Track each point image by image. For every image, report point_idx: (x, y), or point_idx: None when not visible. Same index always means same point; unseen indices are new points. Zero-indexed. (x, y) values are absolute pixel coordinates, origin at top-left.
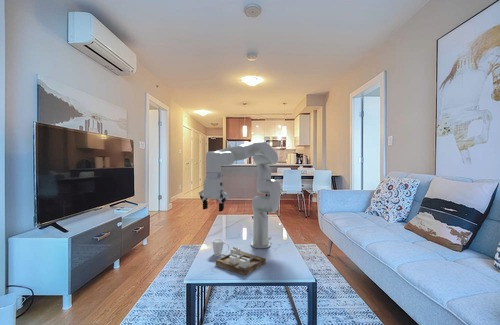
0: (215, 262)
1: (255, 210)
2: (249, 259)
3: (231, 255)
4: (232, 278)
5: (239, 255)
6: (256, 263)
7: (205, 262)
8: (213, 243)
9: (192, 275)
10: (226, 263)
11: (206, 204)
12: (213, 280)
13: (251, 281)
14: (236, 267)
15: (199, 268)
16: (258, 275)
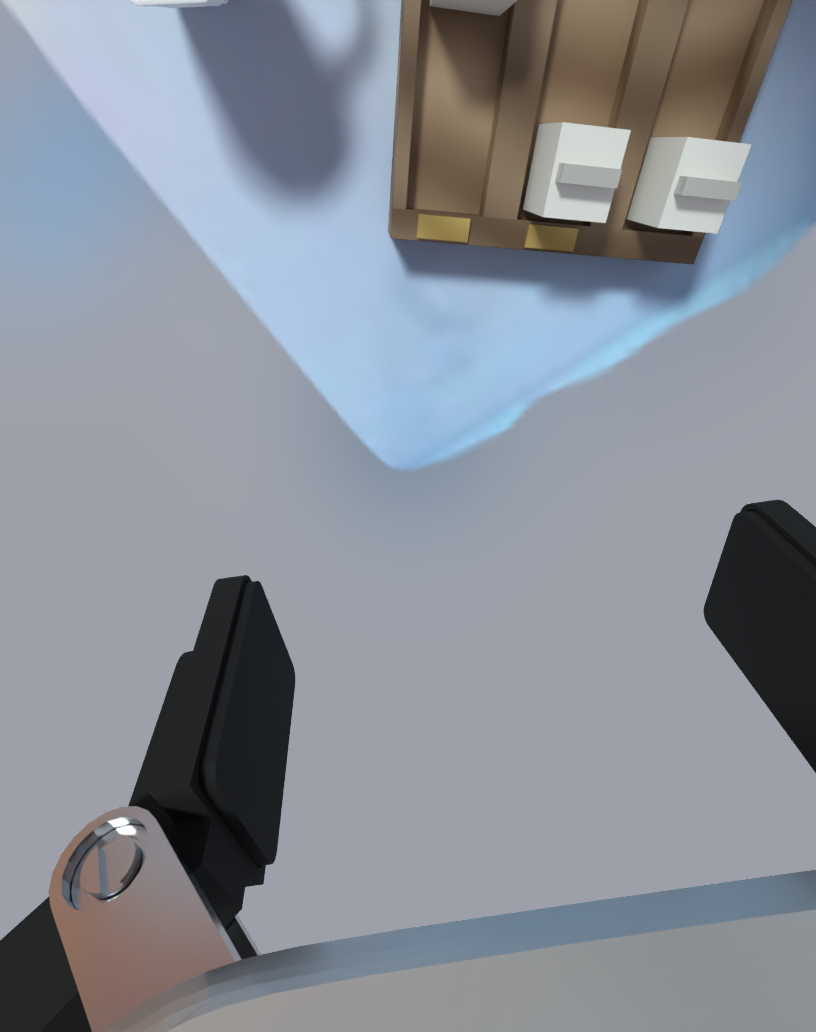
0: (389, 234)
1: None
2: (748, 150)
3: (446, 5)
4: (610, 330)
5: None
6: (771, 52)
7: (281, 238)
8: (160, 5)
9: (374, 442)
10: (514, 240)
11: (255, 713)
12: (518, 415)
13: (739, 290)
14: (622, 255)
15: (332, 351)
16: (774, 176)
